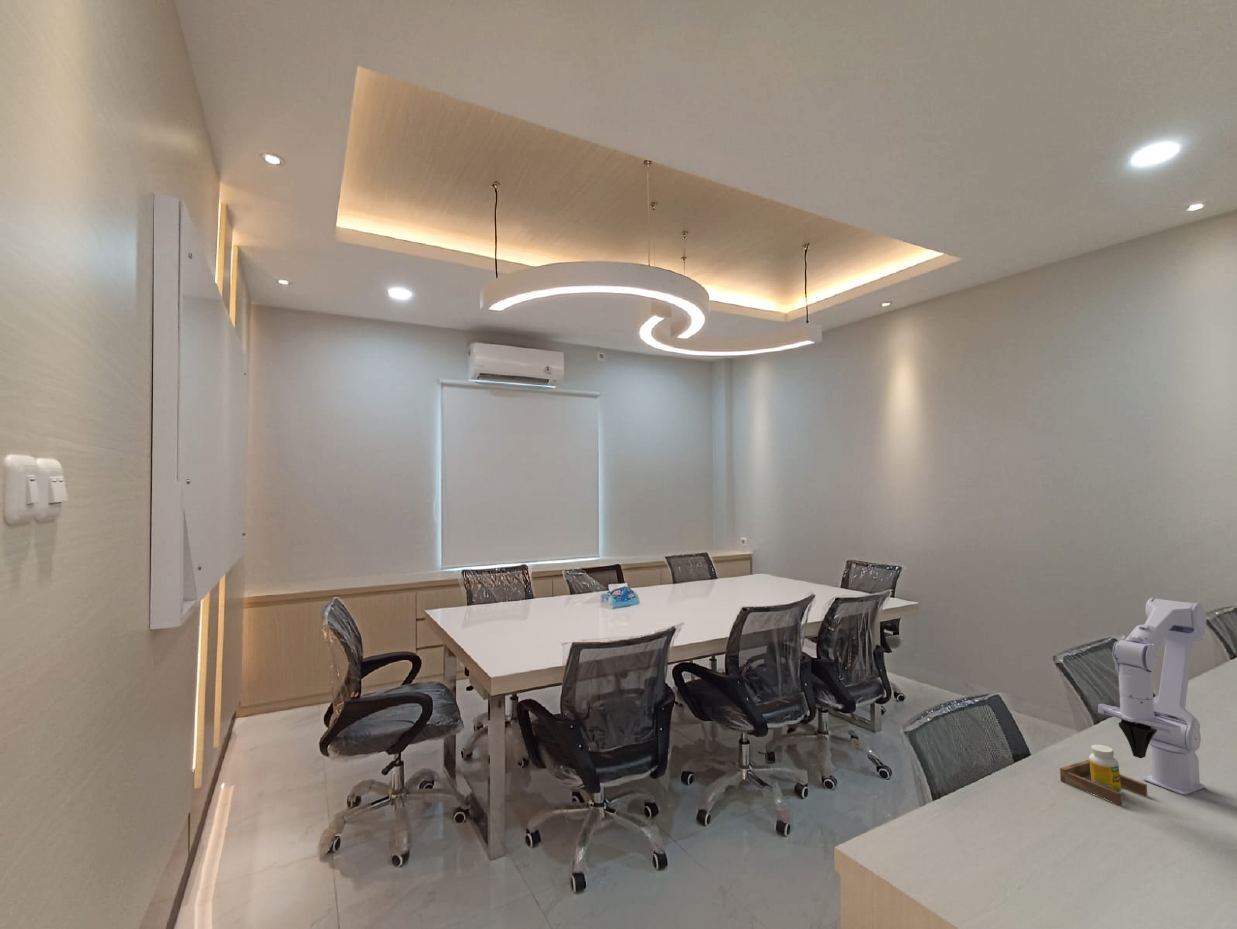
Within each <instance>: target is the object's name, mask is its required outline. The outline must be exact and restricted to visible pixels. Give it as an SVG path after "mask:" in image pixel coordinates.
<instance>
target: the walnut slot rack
mask: <svg viewBox="0 0 1237 929" xmlns="http://www.w3.org/2000/svg"><path fill="white" fill-rule="evenodd" d="M1059 774H1060V776H1059V777H1060V781H1061V782H1062V783H1065V784H1067V785H1069V784H1070V786H1072V787H1074V788H1077V789H1079V790H1081V791H1083V792H1086V791H1088V792H1090V793H1089V794H1091V793H1092V794H1091V795H1093V794H1095V795H1097V796H1096V797H1098V796H1099V797H1098V798H1100V797H1102V798H1105V799H1107V800H1109V801H1112V802H1114V803H1116V804H1115V805H1117V804H1118V805H1117V806H1119V805H1120V806H1122V805H1123V798H1122V797H1123V795H1122V792H1121V793H1119V792H1117V791H1114V790H1112V789H1109V788H1107V787H1105V786H1102V785H1100V784H1097V783H1095V782H1092V781H1091V780H1090V779H1087V778H1085V777H1087V776H1091V772H1090V763H1089V759H1086V760H1083V761H1080V762H1075V763H1073V764H1070V765H1066V766H1063V767H1060V768H1059ZM1120 782H1121V789H1122V788H1123V789H1125V790H1128V791H1130V792H1132V793H1135V794H1138V795H1140V796H1143V797H1147V796H1148V784H1147V783H1144V782H1141V781H1138V780H1136V779H1133V778H1130V777H1128V776H1125V775H1123V774H1120ZM1088 792H1087V793H1088ZM1095 795H1094V796H1095ZM1102 798H1101V799H1102ZM1105 799H1104V800H1105ZM1107 800H1106V801H1107ZM1109 801H1108V802H1109ZM1112 802H1111V803H1112ZM1114 803H1113V804H1114ZM1121 804H1122V805H1121Z"/></svg>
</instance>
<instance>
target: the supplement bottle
mask: <svg viewBox="0 0 1237 929" xmlns="http://www.w3.org/2000/svg"><path fill="white" fill-rule="evenodd" d="M1090 748H1091V754H1089V756H1088V760H1089V763H1090V772H1091V775H1090V779H1091V780H1090V781H1092V782H1095V783H1097V784H1100V785H1102V786H1105V787H1107V788H1109V789H1112V790H1114V791H1117V792H1119V793H1122V787H1121V782H1120V775H1121V774H1120V765H1119V761H1118V759H1116V757H1114V755H1115V753H1114V749H1113V748H1112V747H1110V746H1107V745H1103V744H1092V745H1091V746H1090Z"/></svg>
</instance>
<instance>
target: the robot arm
mask: <svg viewBox="0 0 1237 929" xmlns="http://www.w3.org/2000/svg"><path fill="white" fill-rule="evenodd" d="M1145 616H1146V618H1147V619H1146V621H1145V623H1144V624H1138V625H1136V626H1135V627H1134V628H1133V630H1132V631H1131V632H1130V633H1129V634H1128V636H1127V637H1126V638H1124V640H1123V639H1120V640H1119V641H1115V642H1114V643H1113V646H1112V653H1111V656H1112V661H1113V662H1114V666H1115V671H1116V672H1115V673H1118V687H1119V707H1118V706H1113V705H1109V704H1105V703H1100V704H1099V703H1098V704H1097V713H1098V714H1100V715H1108V716H1110V717H1114V718H1117V719H1120V722H1118V727H1119V728H1120V730H1121V732H1122V733H1123V734H1124V736H1125V738H1126V740H1127V742H1128V744H1129V746H1130V750H1131V753H1132V757H1135V758H1139V759H1143V758H1145V757H1146V755H1147V751H1148V748H1149V761H1150V774H1149V775H1146V776H1143V777H1142V780H1143V781H1145V782H1148V783H1150V784H1153V785H1157V786H1159V787H1162V788H1163V789H1166V790H1169V791H1172V792H1175V793H1178V794H1180V795H1183V796H1186V795H1189V794H1192V793H1194V792H1197V791H1199V790H1201V789H1204V788H1206V785H1205V784H1203V783H1201V781H1200V780H1201V779H1200V763H1199V762H1200V760H1199V757H1198V754H1197V753H1196V752H1197V751H1199V749H1200V746H1201V742H1202V741H1201V740H1202V735H1201V724H1200V721H1199V719H1197V717H1196V716H1194V715H1193V714H1192V713H1191V712H1190V711H1189V710H1187V709H1186V703H1187V695H1188V688H1189V678H1190V669H1191V664H1192V663H1191V662H1192V652H1193V649H1194V644H1195V643H1196V642H1199V641H1203V639H1204V637H1205V633H1206V626H1207V625H1206V624H1207V616H1206V611H1205V608H1204V606H1203V605H1201V603H1199V602H1194V603H1193V602H1188V601H1186V602H1185V601H1179V600H1178V601H1177V600H1170V599H1161V598H1156V597H1150V598H1149V599H1148V600H1147V601H1146V603H1145ZM1164 645H1165V646H1164ZM1163 646H1164V654H1163V659H1162V660H1163V661H1162V668H1161V673H1160V674H1161V676H1160V683H1159V691H1158V697H1157V698H1158V699H1157V700H1156V701H1154V686H1153V671H1154V670H1155V668H1156V667H1157V660H1158V658H1159V655H1158V654H1159V651H1160V650H1161V648H1162V647H1163Z"/></svg>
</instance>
